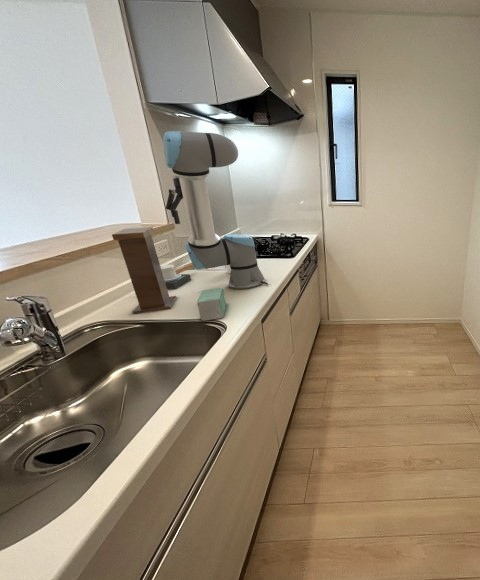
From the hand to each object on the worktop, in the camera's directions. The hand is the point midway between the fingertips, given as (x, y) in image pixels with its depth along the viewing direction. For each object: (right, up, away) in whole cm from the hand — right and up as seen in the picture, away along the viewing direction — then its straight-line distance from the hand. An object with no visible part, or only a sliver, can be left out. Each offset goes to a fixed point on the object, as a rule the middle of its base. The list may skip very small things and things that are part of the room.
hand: (191, 223), depth 155 cm
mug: (+18, -24, +11) cm, 32 cm away
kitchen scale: (-6, -31, -7) cm, 32 cm away
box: (+32, -42, -37) cm, 64 cm away
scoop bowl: (-5, -25, -2) cm, 25 cm away
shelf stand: (+5, -40, -30) cm, 50 cm away
